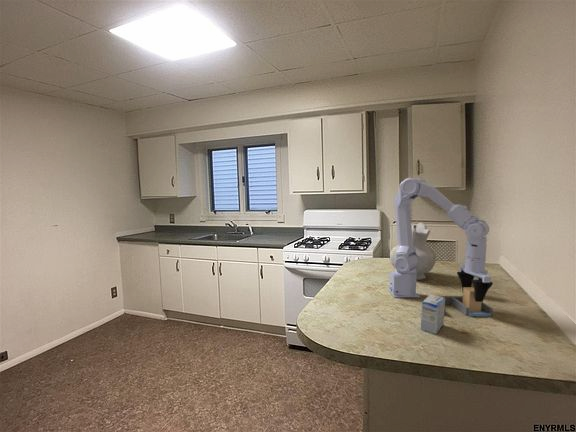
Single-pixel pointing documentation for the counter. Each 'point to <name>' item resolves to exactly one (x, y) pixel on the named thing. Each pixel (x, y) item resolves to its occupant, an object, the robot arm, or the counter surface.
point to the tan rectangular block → (470, 300)
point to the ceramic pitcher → (420, 250)
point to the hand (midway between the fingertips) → (472, 297)
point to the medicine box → (432, 313)
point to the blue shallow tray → (457, 303)
